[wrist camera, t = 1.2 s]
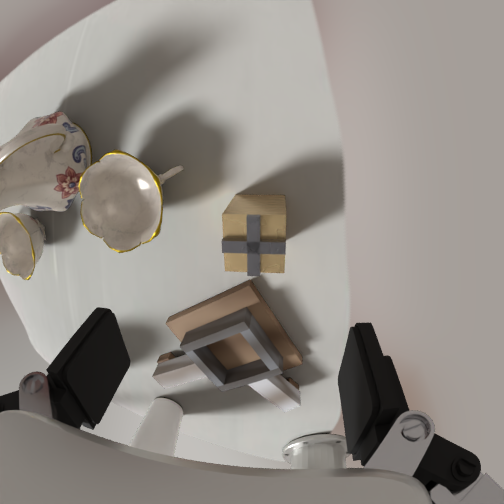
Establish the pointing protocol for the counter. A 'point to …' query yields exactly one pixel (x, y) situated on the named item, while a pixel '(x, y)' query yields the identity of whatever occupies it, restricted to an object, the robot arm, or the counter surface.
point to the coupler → (255, 234)
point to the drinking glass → (159, 427)
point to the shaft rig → (233, 347)
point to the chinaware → (73, 191)
